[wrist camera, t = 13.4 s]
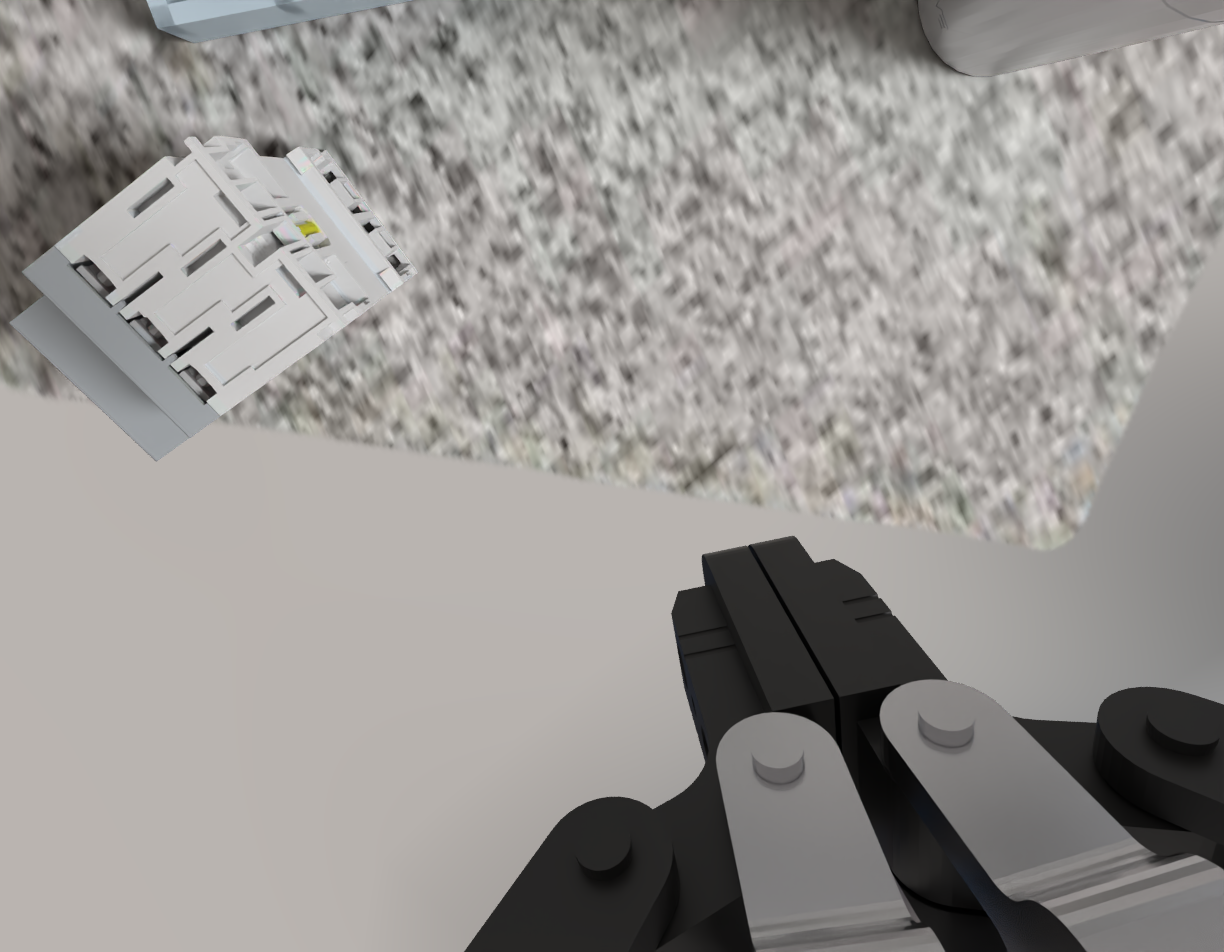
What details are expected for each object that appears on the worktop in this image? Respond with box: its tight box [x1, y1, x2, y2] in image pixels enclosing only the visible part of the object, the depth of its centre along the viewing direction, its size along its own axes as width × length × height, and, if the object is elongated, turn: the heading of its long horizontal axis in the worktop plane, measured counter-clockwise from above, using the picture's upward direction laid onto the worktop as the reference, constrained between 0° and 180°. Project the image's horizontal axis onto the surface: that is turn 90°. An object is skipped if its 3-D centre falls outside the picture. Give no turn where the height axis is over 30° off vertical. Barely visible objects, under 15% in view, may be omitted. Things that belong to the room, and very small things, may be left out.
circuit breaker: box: [10, 136, 418, 461], centre depth 32 cm, size 8×14×15 cm, turn 123°
